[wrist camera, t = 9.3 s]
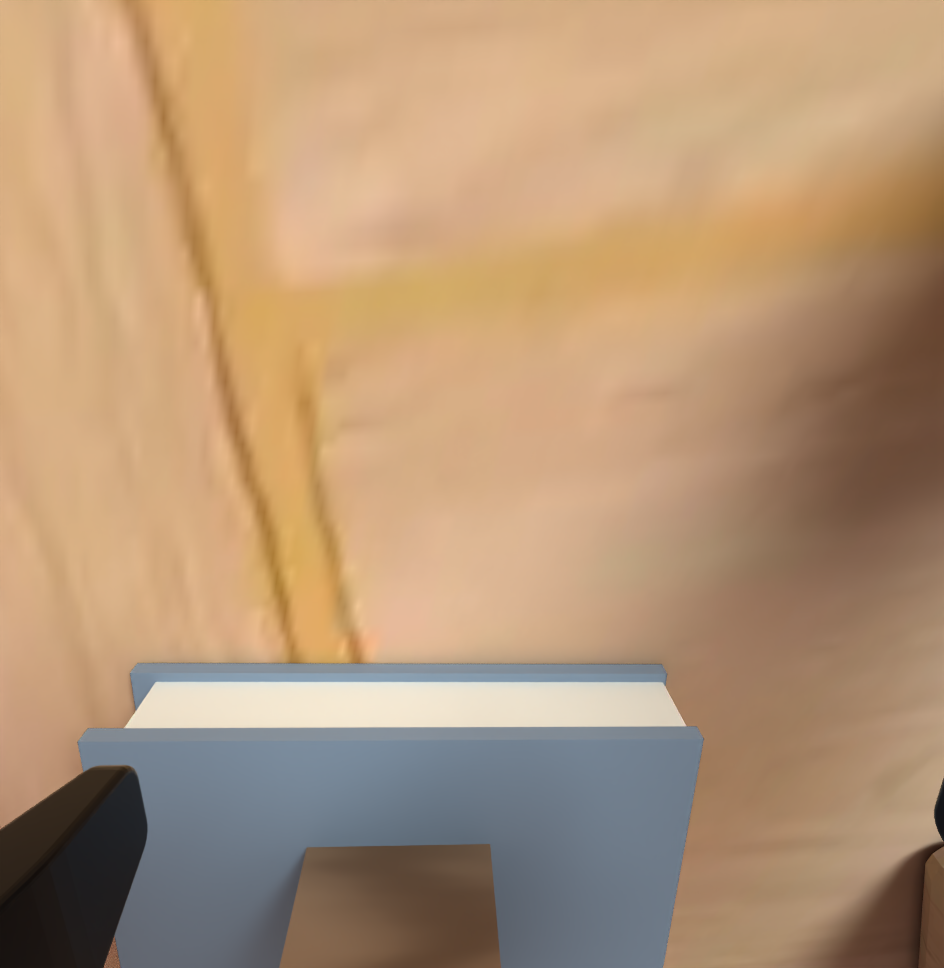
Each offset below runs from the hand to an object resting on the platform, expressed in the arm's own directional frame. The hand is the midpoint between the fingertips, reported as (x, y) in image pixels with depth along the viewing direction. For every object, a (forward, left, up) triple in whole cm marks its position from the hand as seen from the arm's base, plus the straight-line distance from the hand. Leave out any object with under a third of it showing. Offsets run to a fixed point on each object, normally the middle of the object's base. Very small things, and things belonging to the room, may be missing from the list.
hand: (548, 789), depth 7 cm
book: (+2, +12, -12) cm, 17 cm away
